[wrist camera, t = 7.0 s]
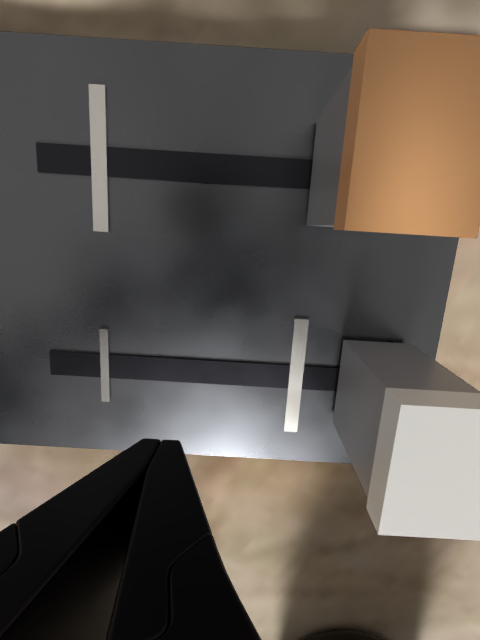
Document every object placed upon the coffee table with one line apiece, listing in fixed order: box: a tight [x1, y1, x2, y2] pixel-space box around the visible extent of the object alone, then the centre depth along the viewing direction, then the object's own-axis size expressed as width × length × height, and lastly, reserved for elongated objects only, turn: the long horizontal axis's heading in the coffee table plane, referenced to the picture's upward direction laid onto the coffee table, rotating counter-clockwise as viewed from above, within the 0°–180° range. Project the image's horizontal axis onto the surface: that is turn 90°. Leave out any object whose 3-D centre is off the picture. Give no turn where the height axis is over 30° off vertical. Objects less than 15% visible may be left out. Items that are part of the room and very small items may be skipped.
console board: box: [0, 31, 459, 464], centre depth 14 cm, size 18×14×1 cm
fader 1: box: [306, 28, 480, 238], centre depth 9 cm, size 3×3×5 cm
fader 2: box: [333, 340, 480, 541], centre depth 11 cm, size 3×3×5 cm
